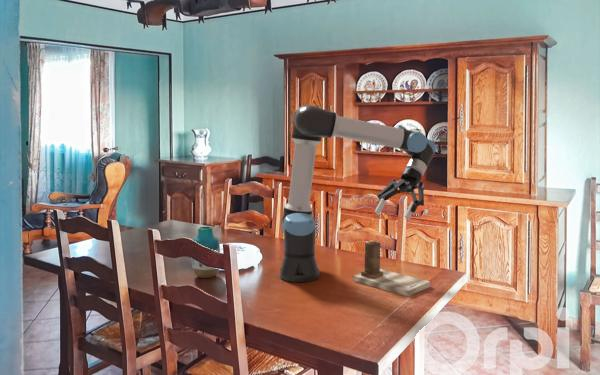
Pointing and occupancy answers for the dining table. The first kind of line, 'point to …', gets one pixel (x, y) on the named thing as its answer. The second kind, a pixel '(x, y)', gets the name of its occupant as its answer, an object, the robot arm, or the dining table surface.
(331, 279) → the dining table surface
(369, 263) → the brown pillar
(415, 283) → the board
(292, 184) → the robot arm
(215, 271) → the vase
